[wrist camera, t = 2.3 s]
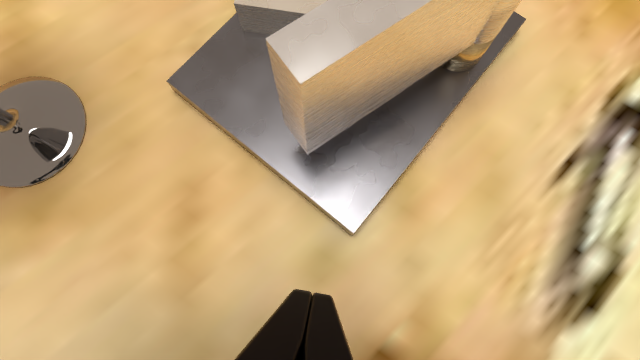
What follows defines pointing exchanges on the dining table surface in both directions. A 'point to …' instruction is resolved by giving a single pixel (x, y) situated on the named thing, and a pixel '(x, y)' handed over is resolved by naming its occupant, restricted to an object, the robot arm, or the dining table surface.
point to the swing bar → (368, 56)
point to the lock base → (348, 146)
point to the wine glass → (38, 130)
